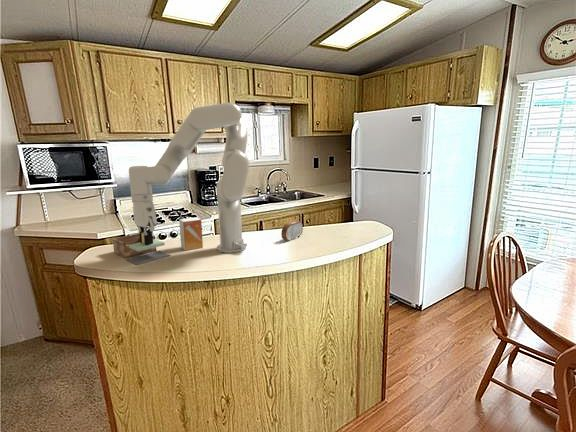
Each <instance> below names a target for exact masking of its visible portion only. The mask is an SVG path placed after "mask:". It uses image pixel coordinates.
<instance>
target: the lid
mask: <svg viewBox="0 0 576 432" xmlns="http://www.w3.org/2000/svg"><path fill="white" fill-rule="evenodd" d="M141 235H142V243H135V244H131V245H129V248H131V249H134V250H136V251H142V250H146V249H151V248H155V247H156V248H158V247H162V246H165V244H166V243H165V242H164V241H161V240H157V239H156V238H155V239H153V244H149V245H145V241H144V235H145V232H143V233H141Z"/></svg>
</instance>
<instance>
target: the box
mask: <svg viewBox="0 0 576 432" xmlns="http://www.w3.org/2000/svg"><path fill="white" fill-rule="evenodd" d="M139 234H140V233H139V232H138V233H135V234H129V235H125V236H120V237H119V236H118V237H115V238H112V244H113V245H112V246H113V253H114V255H117V256H119V257H121V258H123V259H125V260H126V259H129V258H133V257H136V256H140V255H144V254H148V253H152V252H156V251H157V247H155V248H151V249H146V250H142V251H136V250H134V249H131V248H129V245H131V244H135V243H140V236H139ZM153 239H155V240H156V236H154V235H153Z"/></svg>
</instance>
